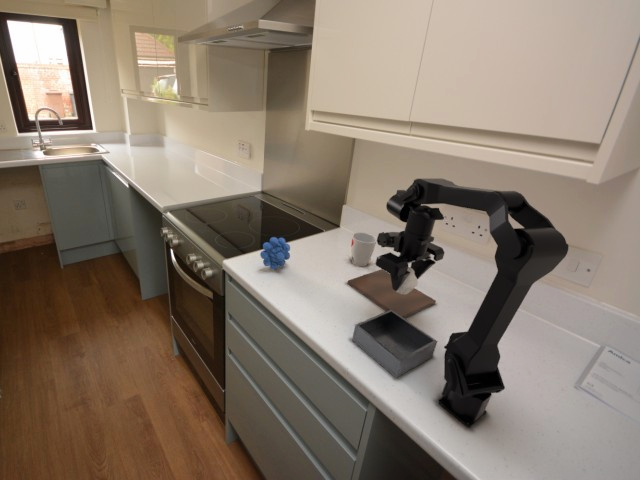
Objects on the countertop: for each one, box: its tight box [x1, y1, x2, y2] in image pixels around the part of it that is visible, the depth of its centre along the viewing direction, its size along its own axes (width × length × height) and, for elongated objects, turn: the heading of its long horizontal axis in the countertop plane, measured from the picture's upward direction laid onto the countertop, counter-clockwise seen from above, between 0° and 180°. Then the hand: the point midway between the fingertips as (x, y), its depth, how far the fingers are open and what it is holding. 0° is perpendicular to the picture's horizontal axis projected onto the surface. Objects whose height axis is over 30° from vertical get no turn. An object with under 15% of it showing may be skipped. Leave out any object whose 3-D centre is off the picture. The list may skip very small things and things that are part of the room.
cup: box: [350, 232, 377, 267], centre depth 119 cm, size 8×8×10 cm
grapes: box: [259, 236, 291, 270], centre depth 111 cm, size 12×7×12 cm, turn 120°
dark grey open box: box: [351, 310, 438, 379], centre depth 82 cm, size 13×13×5 cm
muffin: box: [396, 266, 419, 294], centre depth 85 cm, size 6×6×7 cm
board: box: [347, 268, 437, 319], centre depth 104 cm, size 20×16×1 cm
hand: (402, 286), depth 86 cm, fingers closed on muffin, 6 cm apart
